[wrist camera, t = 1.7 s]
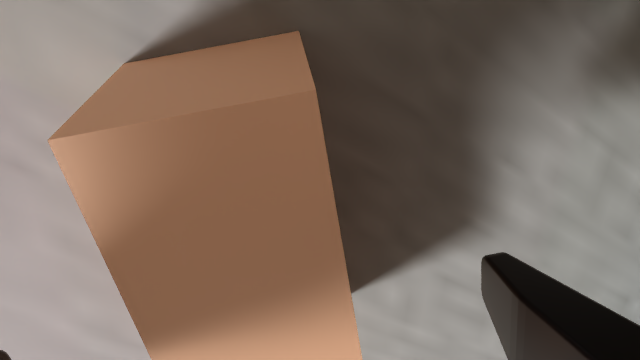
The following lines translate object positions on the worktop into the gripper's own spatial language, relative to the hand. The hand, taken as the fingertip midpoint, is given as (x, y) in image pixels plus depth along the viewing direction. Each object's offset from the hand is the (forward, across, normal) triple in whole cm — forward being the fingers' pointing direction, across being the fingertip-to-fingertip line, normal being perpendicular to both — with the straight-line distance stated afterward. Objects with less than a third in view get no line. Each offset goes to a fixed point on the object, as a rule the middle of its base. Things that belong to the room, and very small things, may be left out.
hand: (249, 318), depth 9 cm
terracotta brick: (+4, 0, 0) cm, 5 cm away
